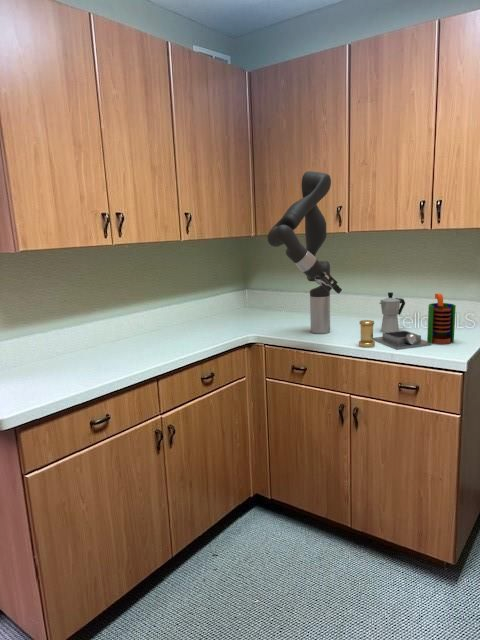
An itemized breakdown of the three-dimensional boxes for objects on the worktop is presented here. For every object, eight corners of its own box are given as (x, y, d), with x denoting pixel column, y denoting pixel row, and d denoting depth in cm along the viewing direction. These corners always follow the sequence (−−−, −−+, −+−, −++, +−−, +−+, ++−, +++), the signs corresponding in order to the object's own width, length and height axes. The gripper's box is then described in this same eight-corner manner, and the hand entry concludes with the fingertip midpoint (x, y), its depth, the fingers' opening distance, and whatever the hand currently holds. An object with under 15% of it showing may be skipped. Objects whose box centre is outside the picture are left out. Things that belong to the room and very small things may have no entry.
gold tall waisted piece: (355, 344, 203) (355, 320, 201) (369, 343, 205) (369, 319, 203) (363, 348, 197) (363, 323, 195) (377, 346, 199) (377, 322, 197)
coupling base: (372, 340, 210) (372, 328, 209) (405, 336, 214) (405, 325, 213) (396, 349, 193) (397, 337, 192) (431, 345, 197) (431, 333, 196)
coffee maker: (385, 334, 218) (386, 294, 215) (372, 331, 226) (372, 292, 223) (411, 330, 224) (411, 291, 221) (397, 326, 232) (398, 289, 229)
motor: (435, 345, 195) (437, 296, 192) (422, 341, 204) (423, 293, 200) (457, 343, 198) (459, 294, 194) (442, 338, 207) (444, 291, 203)
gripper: (322, 257, 185) (349, 285, 190) (307, 256, 198) (333, 282, 204) (309, 272, 185) (337, 300, 190) (295, 270, 198) (321, 295, 203)
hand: (335, 290), depth 197 cm, fingers open, 8 cm apart
